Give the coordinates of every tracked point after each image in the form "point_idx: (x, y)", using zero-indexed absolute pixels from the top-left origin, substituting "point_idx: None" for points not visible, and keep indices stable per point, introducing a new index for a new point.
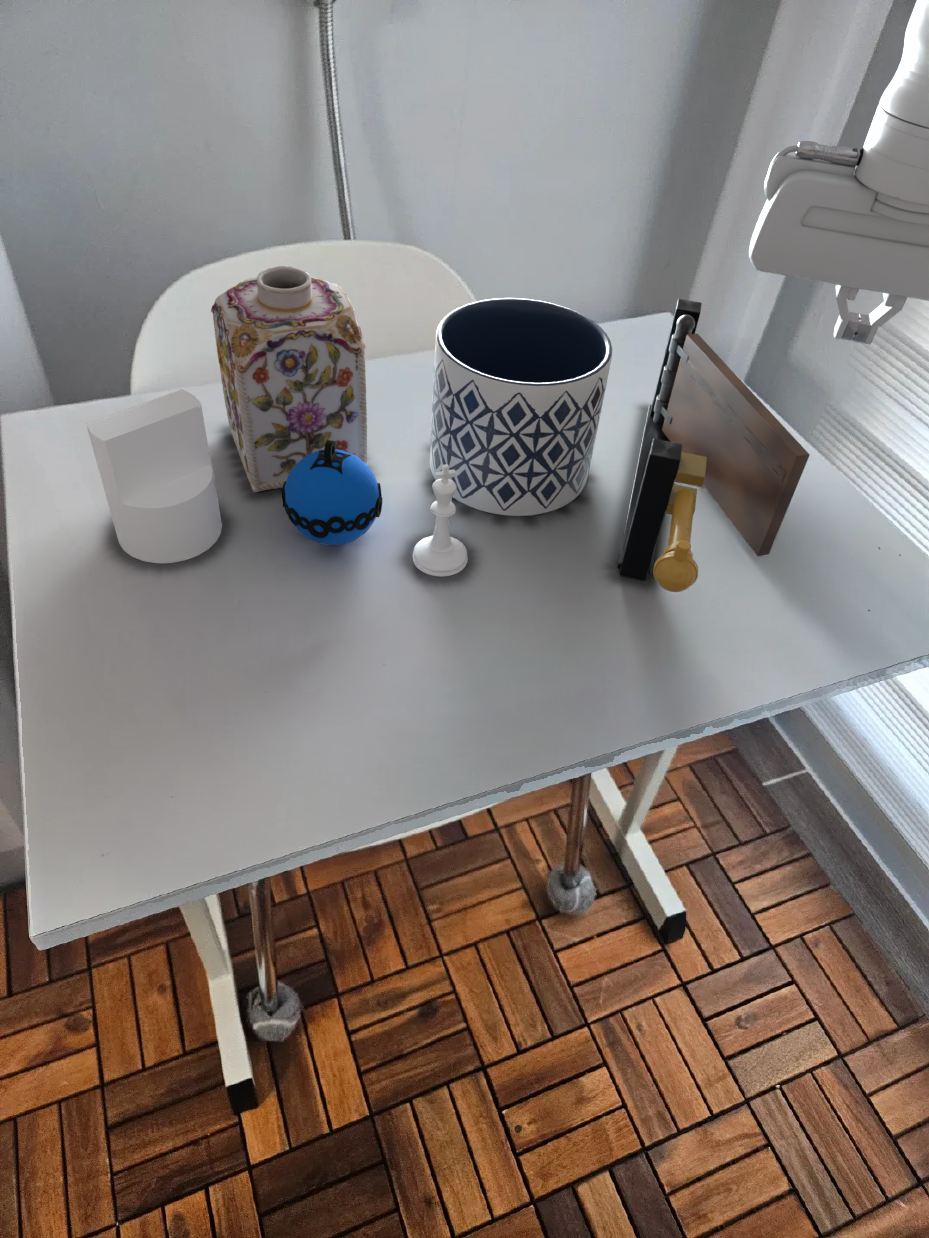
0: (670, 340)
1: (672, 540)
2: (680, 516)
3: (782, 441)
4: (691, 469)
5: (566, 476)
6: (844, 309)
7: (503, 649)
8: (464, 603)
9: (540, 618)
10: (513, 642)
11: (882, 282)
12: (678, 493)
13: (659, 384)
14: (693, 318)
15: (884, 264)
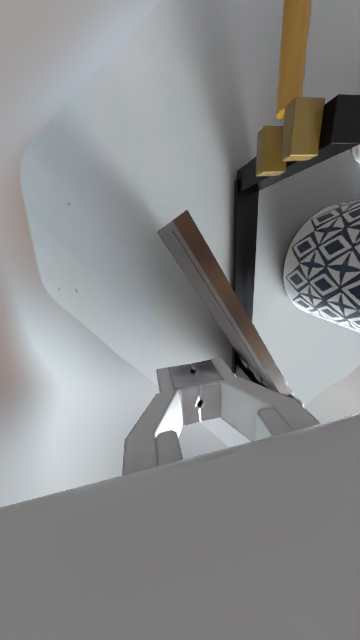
0: None
1: None
2: (306, 30)
3: (204, 240)
4: (309, 112)
5: (321, 228)
6: (253, 389)
7: (328, 35)
8: (353, 90)
9: (304, 90)
10: (321, 48)
11: (252, 485)
12: None
13: None
14: None
15: (349, 608)
